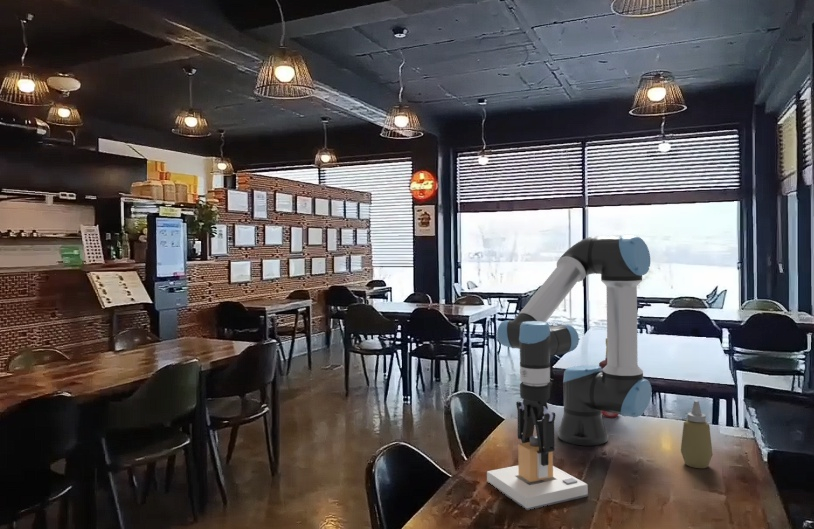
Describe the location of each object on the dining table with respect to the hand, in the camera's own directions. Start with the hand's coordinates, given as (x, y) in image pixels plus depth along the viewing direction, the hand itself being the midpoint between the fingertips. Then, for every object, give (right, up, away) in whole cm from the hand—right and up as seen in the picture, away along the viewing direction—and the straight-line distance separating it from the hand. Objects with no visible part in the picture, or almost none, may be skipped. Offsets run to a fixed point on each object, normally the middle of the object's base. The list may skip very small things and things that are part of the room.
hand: (535, 472), depth 151 cm
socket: (0, -4, 0) cm, 4 cm away
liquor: (+41, -2, +62) cm, 74 cm away
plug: (0, -1, 0) cm, 1 cm away
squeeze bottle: (+48, -3, +15) cm, 51 cm away
